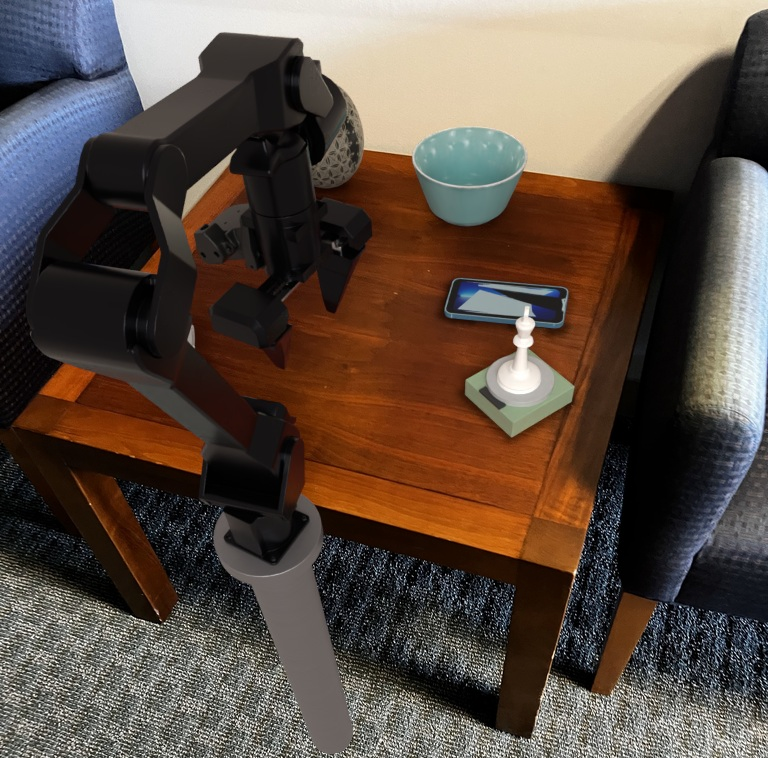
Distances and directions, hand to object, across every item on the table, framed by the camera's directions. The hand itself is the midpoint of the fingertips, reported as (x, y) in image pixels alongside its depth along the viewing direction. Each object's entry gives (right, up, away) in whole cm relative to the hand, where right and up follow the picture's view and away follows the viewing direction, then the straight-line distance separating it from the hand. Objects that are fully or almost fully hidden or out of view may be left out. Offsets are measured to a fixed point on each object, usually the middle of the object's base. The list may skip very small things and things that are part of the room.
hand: (307, 338), depth 78 cm
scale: (+23, -4, +11) cm, 26 cm away
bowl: (+20, +26, +34) cm, 47 cm away
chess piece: (+23, -3, +9) cm, 25 cm away
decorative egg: (-1, +32, +39) cm, 51 cm away
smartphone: (+23, +9, +21) cm, 32 cm away
